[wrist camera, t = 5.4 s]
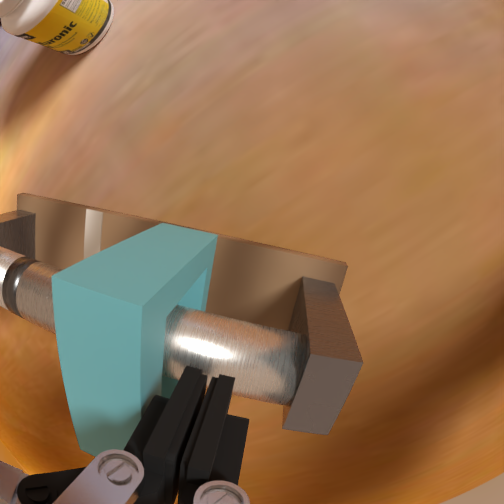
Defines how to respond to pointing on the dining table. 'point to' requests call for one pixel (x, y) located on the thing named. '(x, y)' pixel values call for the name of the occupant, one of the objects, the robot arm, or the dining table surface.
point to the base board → (224, 265)
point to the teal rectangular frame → (124, 327)
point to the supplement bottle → (58, 22)
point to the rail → (220, 337)
